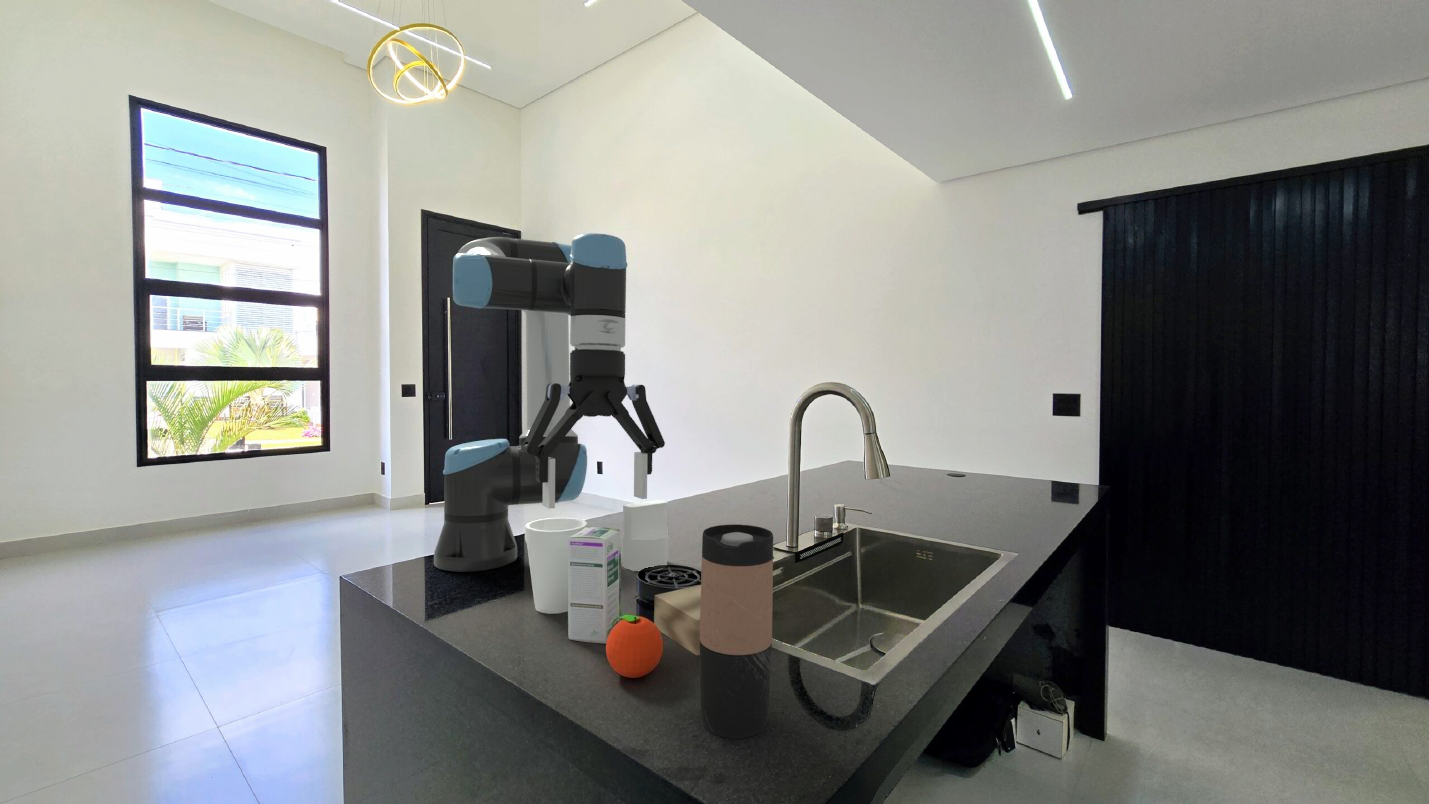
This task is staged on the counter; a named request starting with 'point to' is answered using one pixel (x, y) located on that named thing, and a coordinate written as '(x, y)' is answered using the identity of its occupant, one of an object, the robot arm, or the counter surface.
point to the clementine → (634, 646)
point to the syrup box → (594, 583)
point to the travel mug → (736, 629)
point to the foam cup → (550, 560)
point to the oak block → (680, 616)
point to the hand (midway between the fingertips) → (596, 502)
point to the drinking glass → (645, 534)
